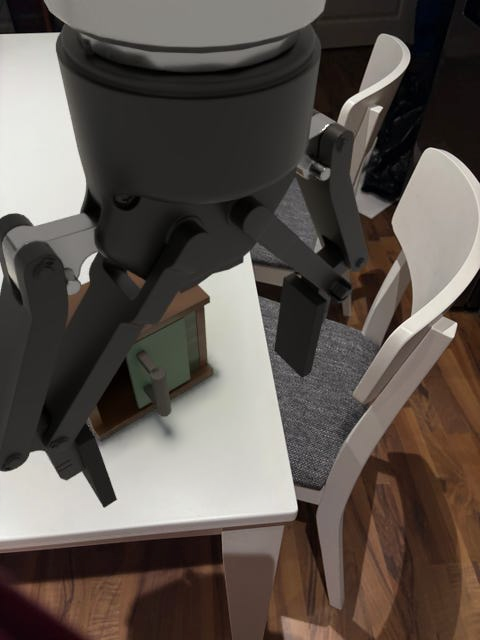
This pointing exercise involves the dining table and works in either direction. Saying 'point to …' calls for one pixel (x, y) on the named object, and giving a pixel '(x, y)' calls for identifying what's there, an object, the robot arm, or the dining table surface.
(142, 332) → the cupboard
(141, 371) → the sliding door
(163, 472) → the dining table surface
